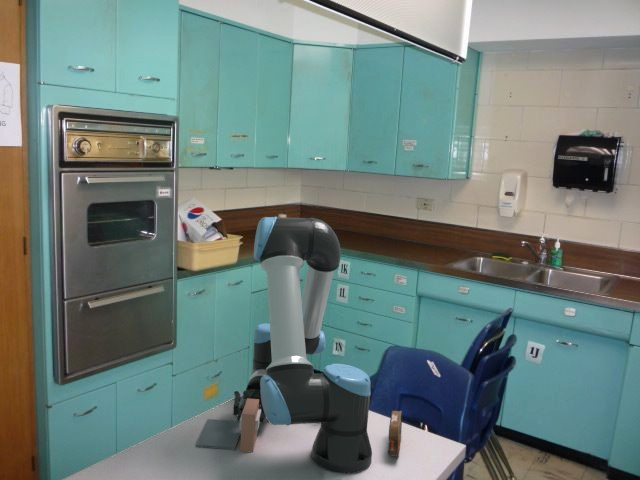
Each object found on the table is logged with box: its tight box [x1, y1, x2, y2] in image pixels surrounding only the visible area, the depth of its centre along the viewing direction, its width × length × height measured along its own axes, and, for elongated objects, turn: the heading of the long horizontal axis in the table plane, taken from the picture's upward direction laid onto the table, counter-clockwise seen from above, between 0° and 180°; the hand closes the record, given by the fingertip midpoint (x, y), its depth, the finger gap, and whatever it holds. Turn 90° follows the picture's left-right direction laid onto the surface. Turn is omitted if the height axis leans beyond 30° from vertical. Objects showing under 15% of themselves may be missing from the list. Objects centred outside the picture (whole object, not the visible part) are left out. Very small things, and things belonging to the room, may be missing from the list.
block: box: [239, 398, 260, 453], centre depth 148 cm, size 3×9×10 cm, turn 179°
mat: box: [195, 418, 241, 451], centre depth 152 cm, size 10×14×1 cm
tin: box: [388, 410, 403, 458], centre depth 151 cm, size 15×3×8 cm, turn 168°
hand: (248, 425), depth 145 cm, fingers closed on block, 3 cm apart
